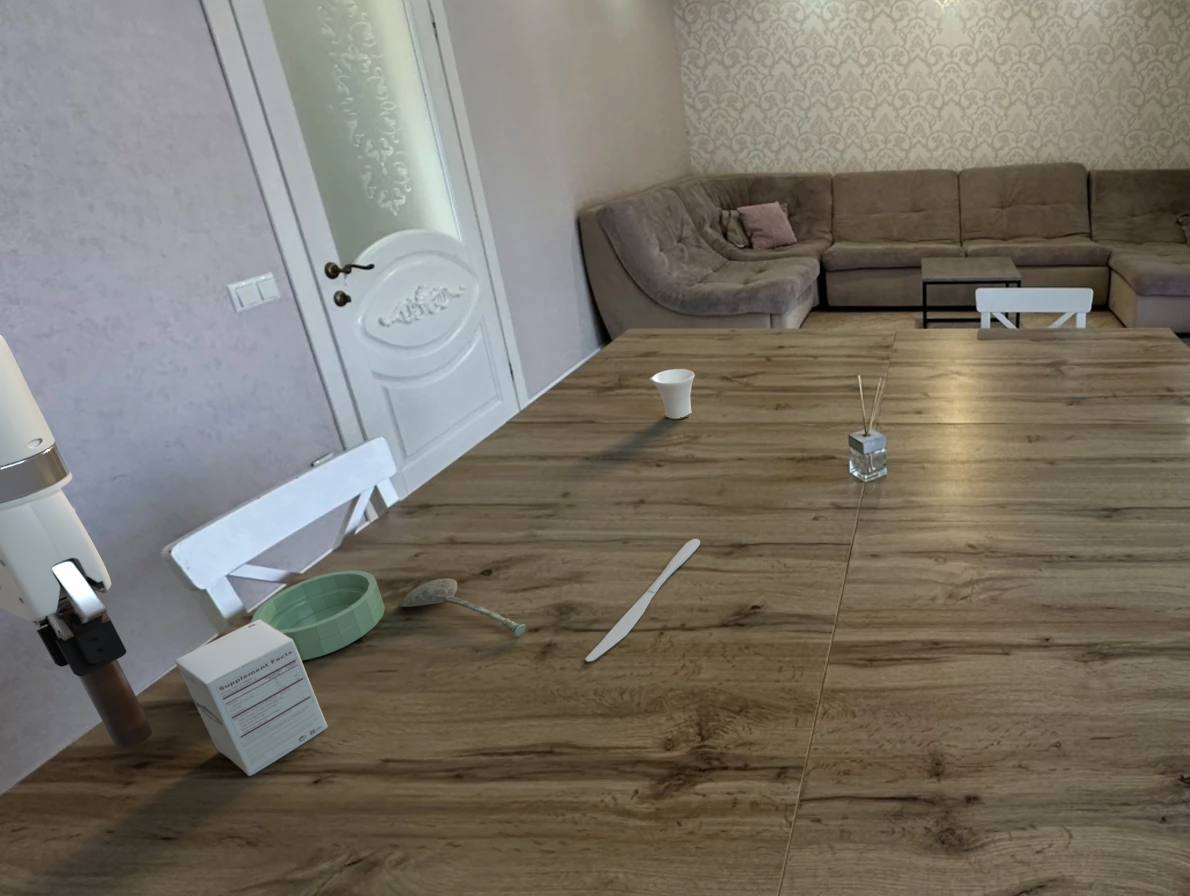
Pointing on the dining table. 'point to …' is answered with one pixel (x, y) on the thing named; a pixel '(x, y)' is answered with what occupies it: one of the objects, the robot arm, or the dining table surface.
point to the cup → (675, 391)
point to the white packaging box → (253, 695)
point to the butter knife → (642, 603)
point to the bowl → (325, 611)
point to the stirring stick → (115, 703)
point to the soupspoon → (452, 601)
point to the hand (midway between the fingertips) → (92, 658)
